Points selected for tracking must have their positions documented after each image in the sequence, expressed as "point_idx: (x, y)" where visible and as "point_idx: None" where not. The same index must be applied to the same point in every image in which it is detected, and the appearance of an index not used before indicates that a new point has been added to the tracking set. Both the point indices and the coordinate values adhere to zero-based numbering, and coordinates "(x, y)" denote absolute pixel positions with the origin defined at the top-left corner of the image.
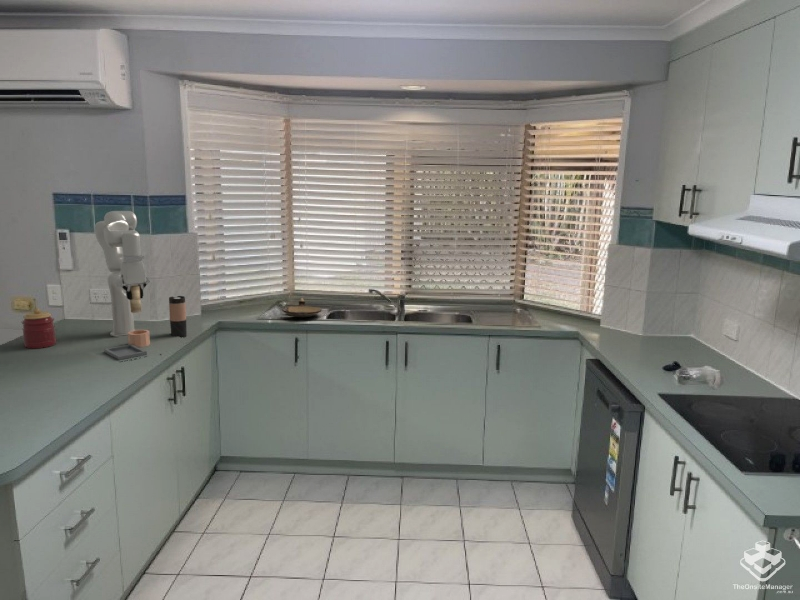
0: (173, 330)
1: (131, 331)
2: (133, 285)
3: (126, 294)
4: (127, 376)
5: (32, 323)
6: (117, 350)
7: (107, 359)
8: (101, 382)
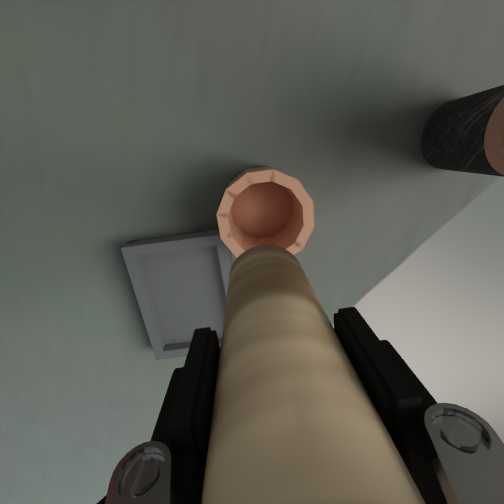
0: (445, 153)
1: (241, 186)
2: (349, 498)
3: (166, 404)
4: None
5: None
6: (170, 251)
7: (133, 301)
8: (104, 455)
